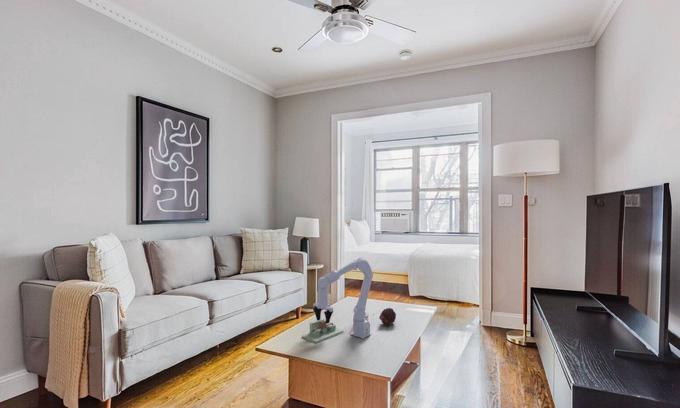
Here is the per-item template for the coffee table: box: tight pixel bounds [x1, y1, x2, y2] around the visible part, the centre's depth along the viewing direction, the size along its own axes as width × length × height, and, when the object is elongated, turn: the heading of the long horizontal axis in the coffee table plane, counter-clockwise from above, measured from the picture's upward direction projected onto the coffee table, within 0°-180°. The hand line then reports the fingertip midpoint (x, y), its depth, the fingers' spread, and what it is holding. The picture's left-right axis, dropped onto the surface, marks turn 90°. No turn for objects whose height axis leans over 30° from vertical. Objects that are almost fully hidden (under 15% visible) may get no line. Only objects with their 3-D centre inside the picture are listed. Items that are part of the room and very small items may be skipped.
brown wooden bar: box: [312, 319, 334, 332], centre depth 205 cm, size 4×16×4 cm, turn 137°
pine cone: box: [379, 307, 397, 326], centre depth 224 cm, size 18×10×10 cm, turn 153°
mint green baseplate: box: [301, 318, 344, 344], centre depth 205 cm, size 12×22×7 cm, turn 137°
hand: (323, 321), depth 205 cm, fingers open, 7 cm apart
